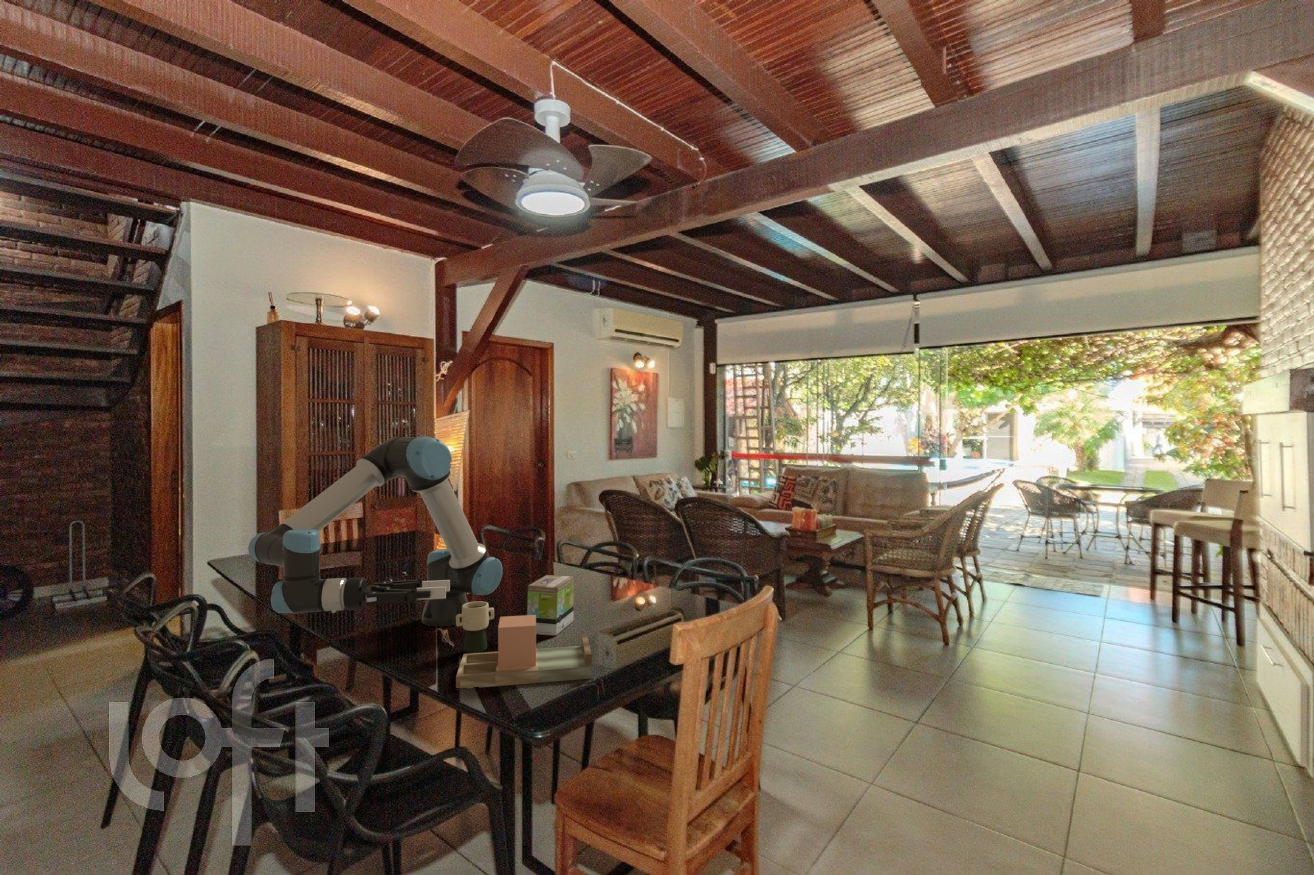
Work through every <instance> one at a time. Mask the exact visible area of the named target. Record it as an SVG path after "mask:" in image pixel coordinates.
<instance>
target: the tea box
mask: <svg viewBox="0 0 1314 875" xmlns="http://www.w3.org/2000/svg"><path fill="white" fill-rule="evenodd" d="M574 595H575V578H574V576H569V575H551V574H550V575H549V574H546V575H543V576H542V577H540V578H538V579H537V580H535V581H534V582H531V583H529V584H528V585H527V611H526V613H527V614H526V615H536V635H542V636H543V635H544V636H557V635H558V634H559V633H561V632H562V631H564V630H565V628H567V627H568V626H569V625H570V624H571V623H573V621H574V616H575V614H574V611H575V610H574V609H575V608H574V605H575V603H574V602H575V598H574V597H575V596H574Z"/></svg>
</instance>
